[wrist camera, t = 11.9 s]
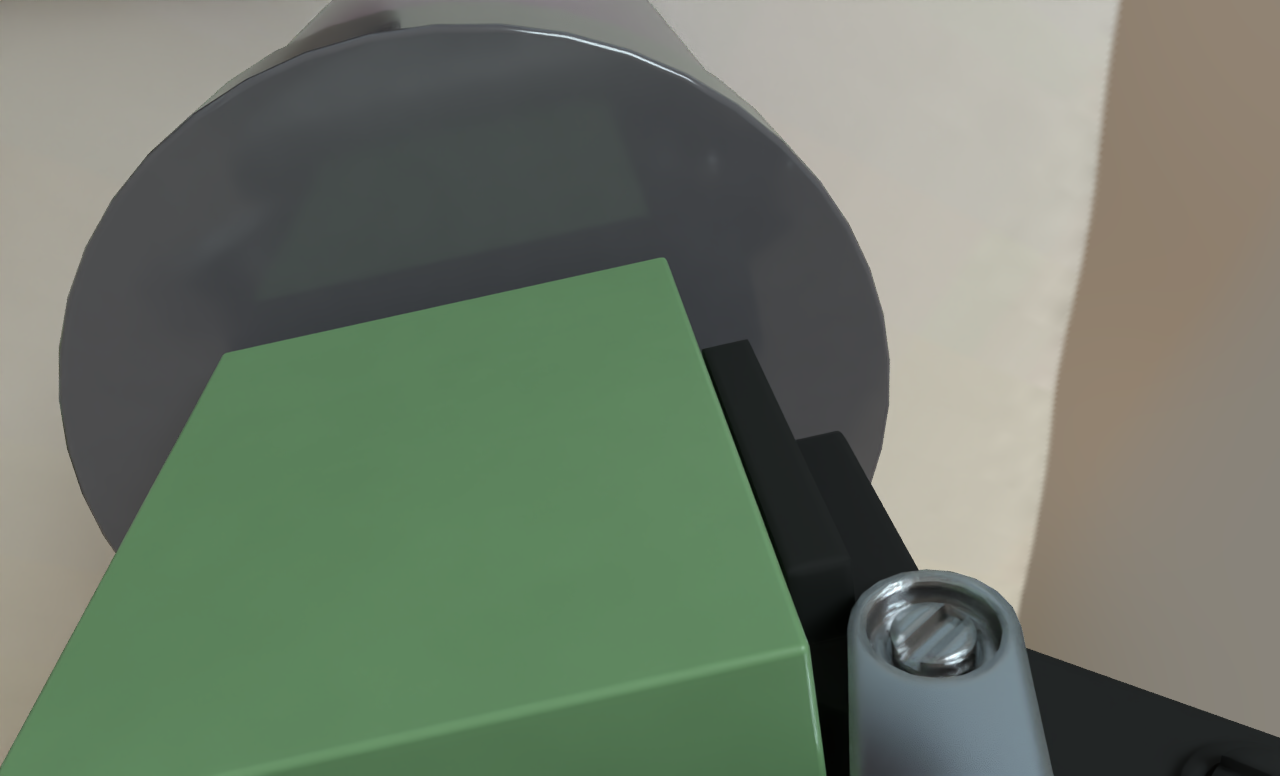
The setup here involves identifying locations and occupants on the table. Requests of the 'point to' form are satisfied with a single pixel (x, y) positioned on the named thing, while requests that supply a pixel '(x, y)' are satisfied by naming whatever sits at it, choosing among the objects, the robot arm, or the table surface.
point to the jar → (456, 216)
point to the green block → (446, 563)
